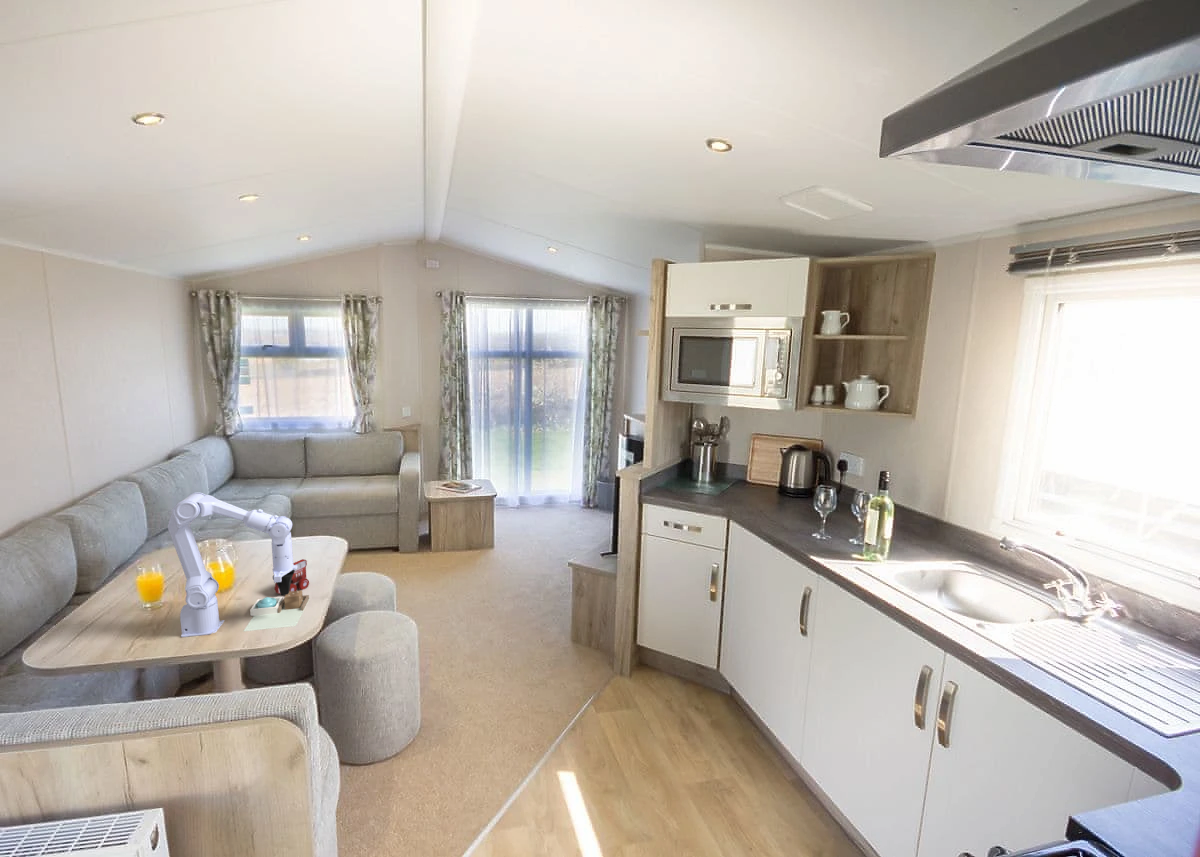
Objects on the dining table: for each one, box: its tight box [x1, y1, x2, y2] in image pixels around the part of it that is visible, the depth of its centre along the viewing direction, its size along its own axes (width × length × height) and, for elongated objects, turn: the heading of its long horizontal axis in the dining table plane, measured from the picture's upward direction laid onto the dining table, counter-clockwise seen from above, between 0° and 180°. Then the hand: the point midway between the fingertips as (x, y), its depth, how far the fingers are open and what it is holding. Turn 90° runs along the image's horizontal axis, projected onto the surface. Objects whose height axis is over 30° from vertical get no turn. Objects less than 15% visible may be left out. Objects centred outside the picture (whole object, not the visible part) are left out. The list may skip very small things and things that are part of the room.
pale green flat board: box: [243, 594, 311, 632], centre depth 186 cm, size 16×20×3 cm
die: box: [283, 589, 304, 610], centre depth 191 cm, size 5×4×5 cm
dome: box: [257, 596, 277, 608], centre depth 188 cm, size 6×6×4 cm
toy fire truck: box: [274, 559, 310, 595], centre depth 203 cm, size 7×12×10 cm, turn 157°
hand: (285, 593), depth 182 cm, fingers closed
